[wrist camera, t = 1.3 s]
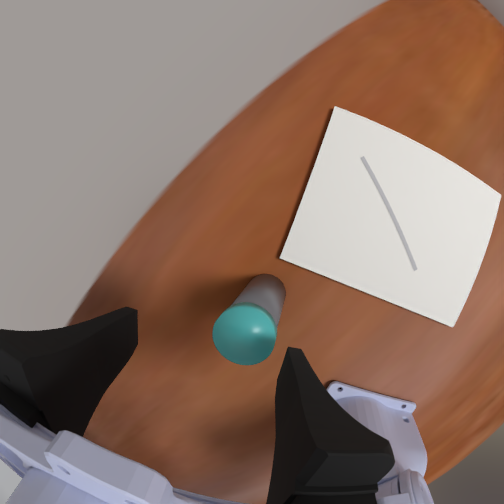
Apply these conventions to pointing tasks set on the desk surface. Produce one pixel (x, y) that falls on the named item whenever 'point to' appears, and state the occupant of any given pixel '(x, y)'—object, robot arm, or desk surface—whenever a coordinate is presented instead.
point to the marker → (251, 322)
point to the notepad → (392, 219)
